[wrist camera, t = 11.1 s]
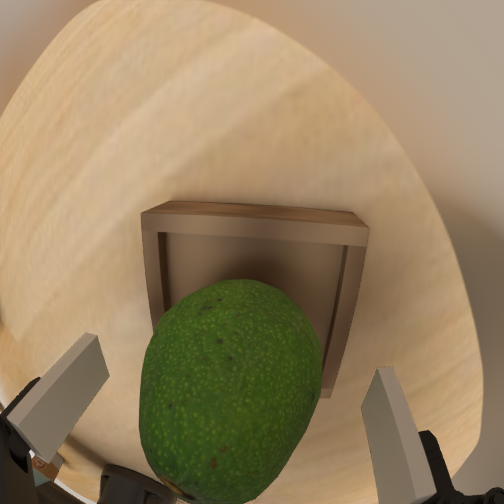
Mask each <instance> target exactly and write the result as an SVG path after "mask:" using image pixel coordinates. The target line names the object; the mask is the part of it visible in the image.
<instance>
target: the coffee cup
mask: <svg viewBox="0 0 504 504" xmlns="http://www.w3.org/2000/svg"><path fill="white" fill-rule="evenodd" d="M31 460H32V467H33V468H35V469H36V470H38V471H39V472H40V473H42V474H43V475H45V476H46V477H47V478H50V479H51V480H52V481H53V482H54V480H55V478H56V476H57V474H58V472H59V470H60V468H61V466H62V464H63V458H62V457H61V456H60V455H59V454H58V453H57V452H56V454H55V455H54V457H53V458H52V460H51V461H50V463H49V464H48V463H47V462H45V461H44V460H42V459H41V458H39V457H37V456H36V454H35V456H34V457H33V458H32V459H31Z"/></svg>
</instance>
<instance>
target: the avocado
mask: <svg viewBox="0 0 504 504" xmlns="http://www.w3.org/2000/svg"><path fill="white" fill-rule="evenodd" d="M321 384H322V359H321V343H320V341H319V339H318V337H317V335H316V333H315V331H314V329H313V327H312V325H311V323H310V321H309V320H308V318H307V317H306V315H305V314H304V312H303V311H302V309H301V308H300V306H299V305H298V304H297V303H295V302H294V301H293V300H292V299H291V298H289V297H288V296H287V295H286V294H285V293H284V292H282V291H281V290H279V289H277V288H275V287H273V286H270V285H268V284H265V283H262V282H260V281H256V280H249V279H236V280H222V281H219V282H217V283H214V284H212V285H209V286H206V287H204V288H201V289H199V290H197V291H195V292H193V293H191V294H189V295H187V296H185V297H184V298H182V299H181V300H180V301H179V302H178V303H177V304H175V305H174V306H173V307H172V308H171V309H169V310H168V311H167V312H166V313H165V314H164V315H162V316H161V318H160V320H159V322H158V325H157V327H156V329H155V331H154V334H153V336H152V338H151V340H150V343H149V345H148V347H147V350H146V353H145V358H144V363H143V368H142V374H141V387H140V404H139V431H140V439H141V445H142V447H143V450H144V453H145V456H146V459H147V462H148V463H149V465H150V467H151V468H152V470H153V472H154V473H155V475H156V476H157V477H158V478H159V479H160V480H161V481H162V482H163V483H164V484H165V485H166V486H167V487H168V488H169V489H170V490H171V491H172V492H173V493H174V494H175V495H176V496H177V497H178V498H179V499H181V500H184V501H186V502H188V503H190V504H243V503H246V502H248V501H251V500H253V499H256V498H257V497H258V496H259V495H260V494H261V493H262V492H263V491H264V490H265V489H266V488H267V487H268V486H269V485H270V484H271V483H272V482H273V481H274V480H275V479H276V478H277V477H278V476H279V474H280V472H281V471H282V469H283V468H284V466H285V465H286V463H287V462H288V460H289V458H290V456H291V455H292V453H293V451H294V450H295V448H296V446H297V445H298V443H299V442H300V440H301V438H302V437H303V435H304V433H305V432H306V430H307V427H308V425H309V422H310V420H311V418H312V415H313V413H314V410H315V408H316V405H317V403H318V400H319V398H320V395H321Z"/></svg>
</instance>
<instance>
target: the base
mask: <svg viewBox="0 0 504 504" xmlns="http://www.w3.org/2000/svg"><path fill="white" fill-rule="evenodd" d="M141 229H142V243H143V254H144V265H145V275H146V283H147V291H148V299H149V306H150V313H151V320H152V326H153V332H154V331H155V329H156V327H157V325H158V322H159V320H160V318H161V316H162V315H164V314H165V313H166V312H167V311H168V310H169V309H171V308H172V307H173V306H174V305H175V304H177V303H178V302H179V301H180V300H181V299H182V298H184V297H185V296H187V295H189V294H191V293H193V292H195V291H197V290H199V289H201V288H204V287H206V286H209V285H212V284H214V283H217V282H219V281H222V280H236V279H249V280H256V281H260V282H262V283H265V284H268V285H270V286H273V287H275V288H277V289H279V290H281V291H282V292H284V293H285V294H286V295H287V296H288V297H289V298H291V299H292V300H293V301H294V302H295V303H297V304H298V305H299V306H300V308H301V309H302V311H303V312H304V314H305V315H306V317H307V318H308V320H309V321H310V323H311V325H312V327H313V329H314V331H315V333H316V335H317V337H318V339H319V341H320V343H321V359H322V384H321V395H320V398H330V397H331V394H332V390H333V387H334V384H335V381H336V378H337V374H338V371H339V368H340V364H341V361H342V357H343V354H344V350H345V346H346V342H347V339H348V335H349V331H350V327H351V323H352V318H353V314H354V310H355V305H356V301H357V296H358V291H359V287H360V282H361V276H362V271H363V266H364V260H365V254H366V248H367V242H368V235H369V227H368V226H367V225H366V224H365V223H364V222H363V221H361V220H360V219H359V218H358V217H357V216H356V215H355V214H354V213H352V212H342V211H332V210H320V209H309V208H296V207H283V206H268V205H252V204H233V203H211V202H181V201H168V202H166V203H163V204H161V205H158V206H156V207H154V208H151V209H149V210H147V211H144V212H142V213H141Z"/></svg>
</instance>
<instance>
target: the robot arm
mask: <svg viewBox="0 0 504 504" xmlns="http://www.w3.org/2000/svg"><path fill="white" fill-rule="evenodd" d="M109 376H110V375H109V372H108V369H107V366H106V363H105V360H104V357H103V354H102V350H101V347H100V343H99V340H98V336H97V335H94V334H90V333H85V334H84V335H83V336H82V337H81V338H80V339H79V340H78V341H77V342H76V343H75V344H74V345H73V346H72V347H71V348H70V349H69V350H68V351H67V352H66V353H65V354H64V355H63V356H62V357H61V358H60V359H59V360H58V361H57V362H56V363H55V364H54V365H53V366H52V367H51V368H50V369H49V371H48V372H47V373H46V374H45V375H44V376H43V377H42V378H40V377H38V378H36V379H34V380H32V381H30V382H29V383H28V385H27V386H26V387H25V388H24V390H22V391H21V392H20V393H19V395H17V396H16V398H15V399H14V400H13V401H12V402H11V403H10V404H9V405H8V407H7V408H6V409H5V410H4V411H3V412H2V413H1V414H0V504H86V503H84V502H82V501H80V500H79V499H77V498H76V497H74V496H73V495H71V494H70V493H68V492H67V491H65V490H64V489H63V488H61V487H60V486H58V485H57V484H55V483H54V482H53V481H52V480H51V479H50V478H47V477H46V476H45V475H43V474H42V473H40V472H39V471H38V470H36V469H35V468H33V467H32V460H31V455H30V453H29V451H30V450H32V451H33V452H34V453H35V454H36V456H37V457H39V458H41V459H42V460H44V461H45V462H47V463H48V464H49V463H50V461H51V460H52V458H53V457H54V455H55V454H56V452H57V451H58V449H59V448H60V446H61V445H62V443H63V442H64V440H65V439H66V437H67V436H68V434H69V433H70V431H71V430H72V428H73V427H74V426H75V424H76V423H77V421H78V420H79V418H80V417H81V416H82V414H83V413H84V411H85V410H86V408H87V407H88V406H89V404H90V403H91V401H92V400H93V399H94V397H95V396H96V394H97V393H98V392H99V390H100V389H101V387H102V386H103V385H104V383H105V382H106V381H107V379H108V378H109ZM361 410H362V415H363V419H364V424H365V428H366V433H367V438H368V443H369V448H370V453H371V458H372V464H373V469H374V475H375V481H376V487H377V493H378V500H379V504H504V490H503V489H502V488H499V487H496V488H492V489H491V490H489V491H488V492H487V493H486V494H484V495H472V496H465V495H463V493H461V492H459V491H456V490H455V489H454V487H453V485H452V482H451V479H450V475H449V472H448V469H447V466H446V464H445V461H444V458H443V455H442V452H441V450H440V447H439V444H438V442H437V439H436V437H435V436H434V435H433V434H432V433H431V432H430V431H429V430H426V431H421V432H418V431H417V428H416V425H415V423H414V420H413V417H412V414H411V412H410V409H409V407H408V404H407V401H406V399H405V396H404V394H403V391H402V389H401V386H400V384H399V381H398V379H397V376H396V374H395V372H394V369H393V367H379V368H377V370H376V372H375V375H374V378H373V380H372V383H371V385H370V388H369V390H368V392H367V395H366V397H365V400H364V402H363V404H362V406H361ZM176 500H177V496H176V495H175V494H174V493H173V492H172V491H171V490H169V489H168V488H166V487H165V486H163V485H161V484H159V483H157V482H156V481H154V480H152V479H149V478H147V477H145V476H143V475H141V474H138V473H136V472H133V471H131V470H128V469H125V468H122V467H119V466H114V465H106V466H105V468H104V470H103V471H102V474H101V481H100V494H99V500H98V502H97V504H175V503H176Z"/></svg>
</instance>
